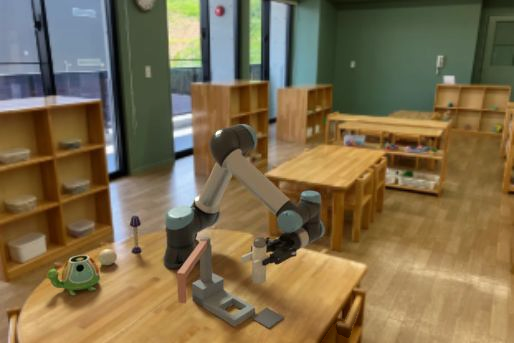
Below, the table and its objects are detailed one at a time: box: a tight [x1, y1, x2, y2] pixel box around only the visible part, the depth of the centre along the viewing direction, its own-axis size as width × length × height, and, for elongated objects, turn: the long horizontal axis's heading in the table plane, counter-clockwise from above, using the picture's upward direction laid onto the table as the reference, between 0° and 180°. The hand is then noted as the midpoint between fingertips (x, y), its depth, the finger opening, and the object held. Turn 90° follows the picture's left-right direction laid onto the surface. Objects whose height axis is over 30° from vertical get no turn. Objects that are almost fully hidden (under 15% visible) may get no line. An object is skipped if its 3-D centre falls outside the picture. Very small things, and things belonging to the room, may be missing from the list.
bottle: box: [251, 236, 267, 285], centre depth 137 cm, size 5×5×15 cm
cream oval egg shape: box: [98, 248, 118, 267], centre depth 176 cm, size 7×7×7 cm
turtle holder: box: [46, 254, 101, 296], centre depth 158 cm, size 12×18×12 cm
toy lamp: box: [129, 215, 142, 254], centre depth 186 cm, size 5×5×17 cm
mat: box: [250, 307, 285, 330], centre depth 143 cm, size 8×8×1 cm
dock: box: [191, 245, 256, 327], centre depth 146 cm, size 22×10×21 cm, turn 48°
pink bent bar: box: [176, 236, 212, 304], centre depth 139 cm, size 26×4×10 cm, turn 169°
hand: (248, 263), depth 133 cm, fingers closed on bottle, 5 cm apart
